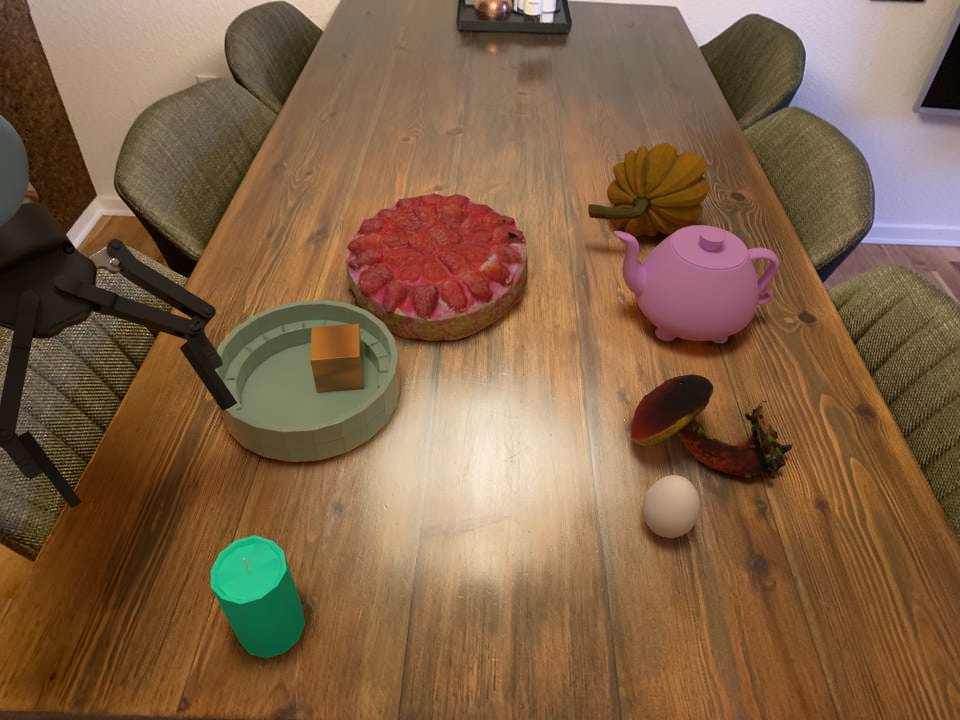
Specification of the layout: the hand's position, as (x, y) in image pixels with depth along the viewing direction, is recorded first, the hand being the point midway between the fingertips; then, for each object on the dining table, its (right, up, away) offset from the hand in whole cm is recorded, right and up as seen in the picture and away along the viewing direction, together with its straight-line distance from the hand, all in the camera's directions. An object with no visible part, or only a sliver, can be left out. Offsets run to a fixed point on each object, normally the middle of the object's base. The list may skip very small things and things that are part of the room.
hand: (158, 453), depth 58 cm
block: (+9, +6, +28) cm, 30 cm away
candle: (+7, -17, +7) cm, 19 cm away
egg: (+45, -10, +15) cm, 48 cm away
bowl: (+6, +3, +26) cm, 27 cm away
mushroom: (+52, -2, +23) cm, 57 cm away
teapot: (+53, +13, +38) cm, 66 cm away
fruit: (+51, +28, +53) cm, 79 cm away
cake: (+20, +19, +42) cm, 50 cm away
